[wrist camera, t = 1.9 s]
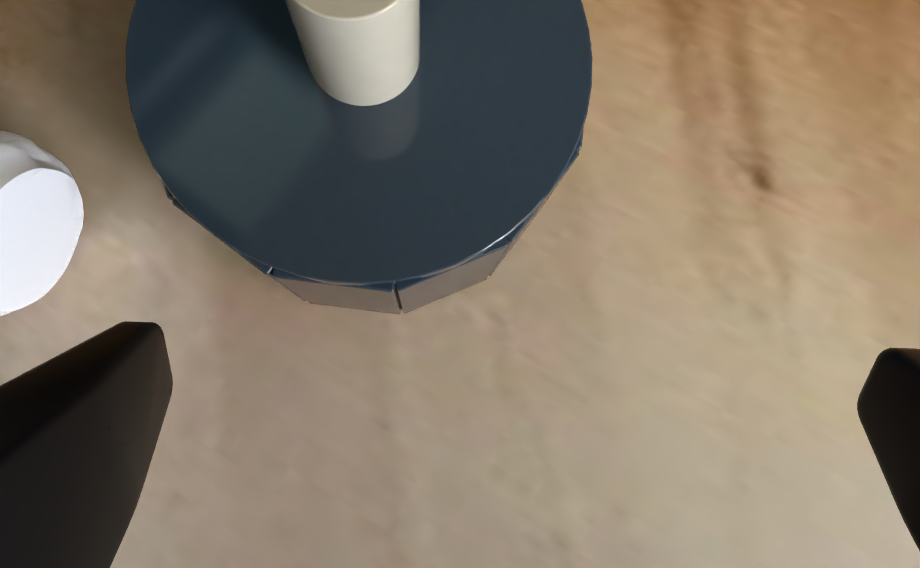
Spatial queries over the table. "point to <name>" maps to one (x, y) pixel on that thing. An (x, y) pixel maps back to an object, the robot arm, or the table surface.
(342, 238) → the cover
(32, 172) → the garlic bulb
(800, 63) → the table surface
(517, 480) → the table surface
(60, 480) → the robot arm
